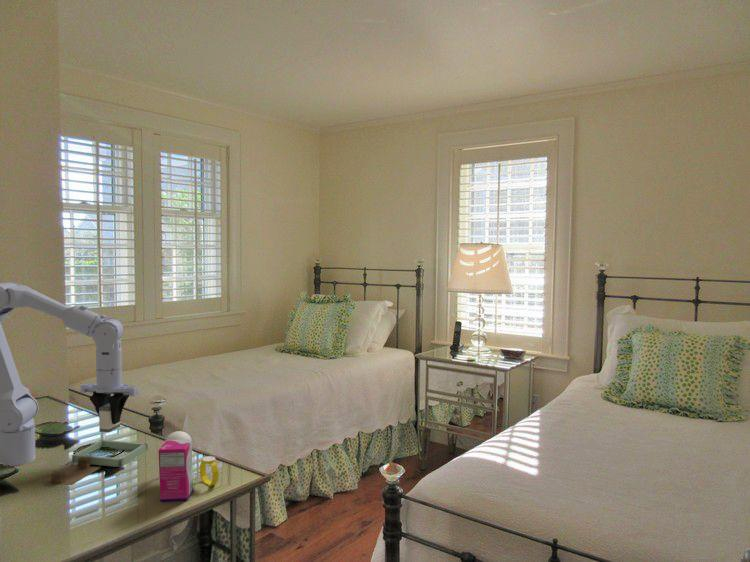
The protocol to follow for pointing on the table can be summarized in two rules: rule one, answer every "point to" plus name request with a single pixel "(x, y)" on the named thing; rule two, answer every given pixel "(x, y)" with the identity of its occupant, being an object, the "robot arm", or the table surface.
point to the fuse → (106, 419)
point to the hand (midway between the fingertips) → (110, 422)
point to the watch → (211, 462)
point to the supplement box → (175, 470)
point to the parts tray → (117, 462)
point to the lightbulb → (178, 436)
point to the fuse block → (72, 473)
